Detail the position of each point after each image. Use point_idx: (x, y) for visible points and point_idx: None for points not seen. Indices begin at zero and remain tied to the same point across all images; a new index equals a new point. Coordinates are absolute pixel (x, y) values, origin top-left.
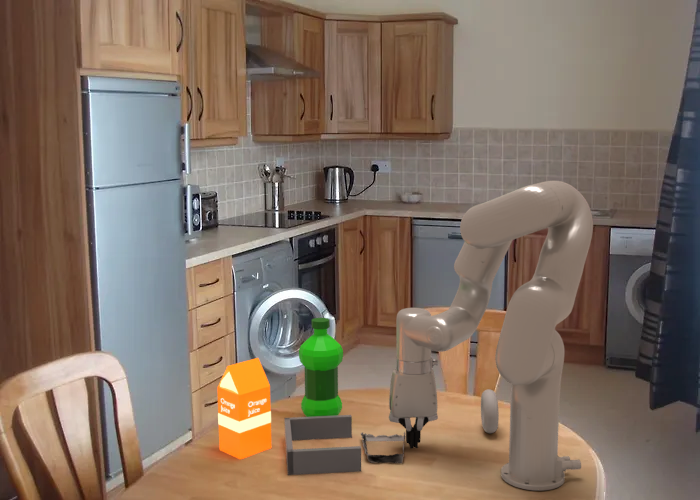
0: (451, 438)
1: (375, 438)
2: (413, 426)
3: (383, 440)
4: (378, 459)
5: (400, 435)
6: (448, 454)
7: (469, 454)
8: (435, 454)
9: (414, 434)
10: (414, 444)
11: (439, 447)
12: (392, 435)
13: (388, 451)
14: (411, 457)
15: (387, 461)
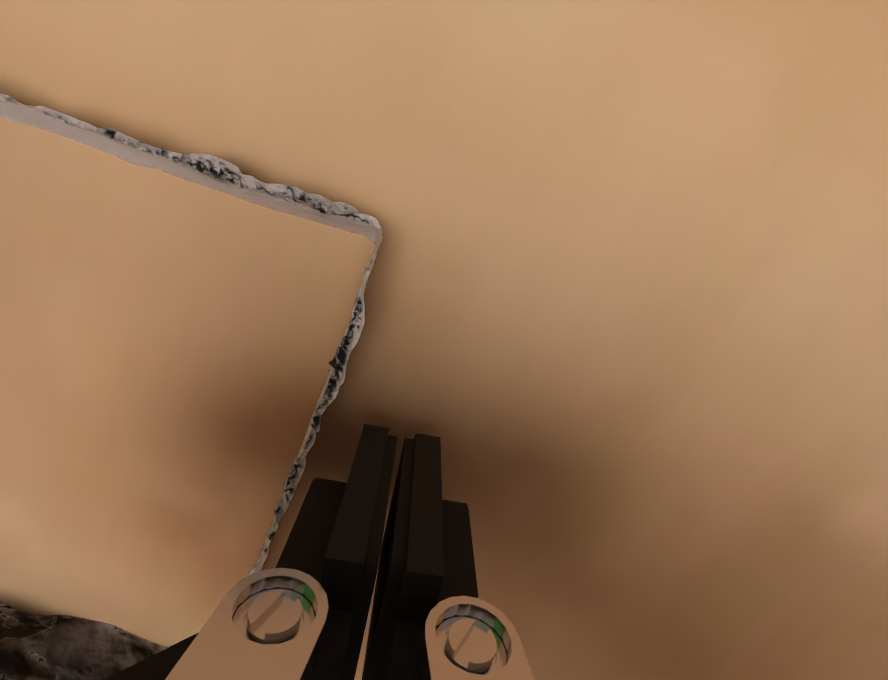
0: (870, 339)
1: (33, 113)
2: (400, 593)
3: (147, 163)
4: (2, 631)
5: (341, 204)
6: (632, 623)
7: (778, 661)
8: (535, 597)
9: (365, 660)
10: (380, 561)
11: (640, 490)
12: (239, 171)
13: (153, 436)
14: None
15: (94, 635)
